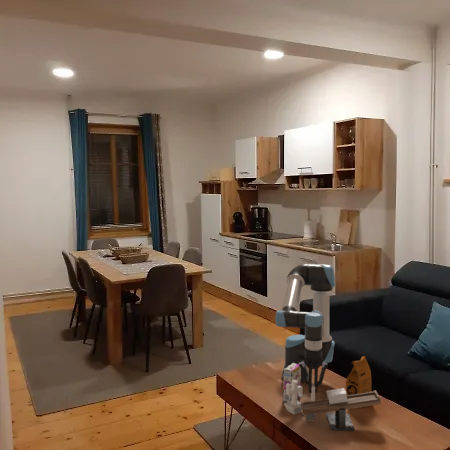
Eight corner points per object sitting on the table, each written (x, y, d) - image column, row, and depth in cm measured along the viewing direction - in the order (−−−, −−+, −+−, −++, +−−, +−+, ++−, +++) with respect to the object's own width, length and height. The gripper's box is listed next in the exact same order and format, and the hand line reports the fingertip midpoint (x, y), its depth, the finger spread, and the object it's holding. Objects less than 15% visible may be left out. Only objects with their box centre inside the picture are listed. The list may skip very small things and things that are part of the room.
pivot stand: (326, 415, 218) (326, 396, 218) (348, 416, 218) (348, 397, 217) (331, 430, 204) (331, 410, 204) (354, 431, 204) (355, 411, 203)
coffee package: (342, 403, 231) (342, 359, 229) (356, 396, 239) (357, 353, 237) (359, 410, 223) (360, 365, 222) (374, 402, 231) (375, 358, 230)
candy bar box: (291, 404, 230) (292, 371, 229) (282, 401, 233) (282, 369, 232) (301, 395, 239) (301, 364, 238) (292, 393, 242) (292, 362, 241)
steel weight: (328, 401, 213) (326, 390, 213) (345, 398, 213) (343, 388, 213) (330, 406, 208) (328, 396, 208) (348, 404, 207) (346, 393, 207)
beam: (302, 413, 216) (300, 400, 216) (377, 402, 214) (374, 389, 213) (304, 422, 207) (302, 409, 207) (382, 411, 205) (380, 397, 205)
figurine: (307, 411, 222) (307, 380, 221) (292, 417, 216) (292, 385, 215) (296, 406, 228) (296, 375, 227) (281, 411, 222) (281, 380, 221)
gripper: (299, 350, 206) (298, 403, 208) (329, 351, 205) (328, 403, 207) (297, 345, 213) (297, 395, 215) (326, 345, 213) (326, 396, 214)
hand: (312, 399), depth 211 cm, fingers closed
